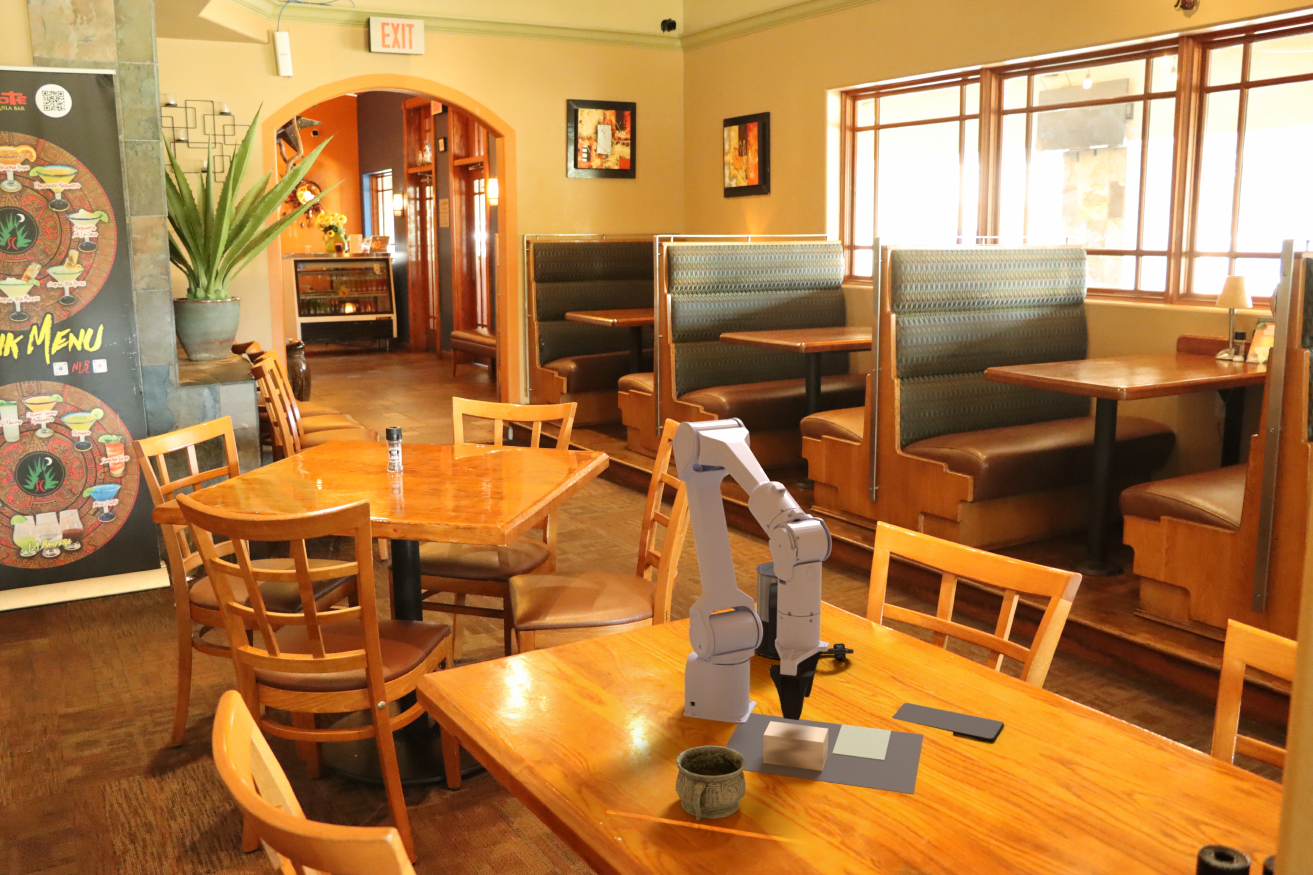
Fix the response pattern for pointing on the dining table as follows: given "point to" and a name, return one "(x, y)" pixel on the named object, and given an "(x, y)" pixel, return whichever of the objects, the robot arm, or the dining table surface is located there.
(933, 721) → the smartphone
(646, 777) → the dining table surface
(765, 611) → the milk frother
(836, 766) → the rubber mat
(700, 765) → the vessel
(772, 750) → the birch block
